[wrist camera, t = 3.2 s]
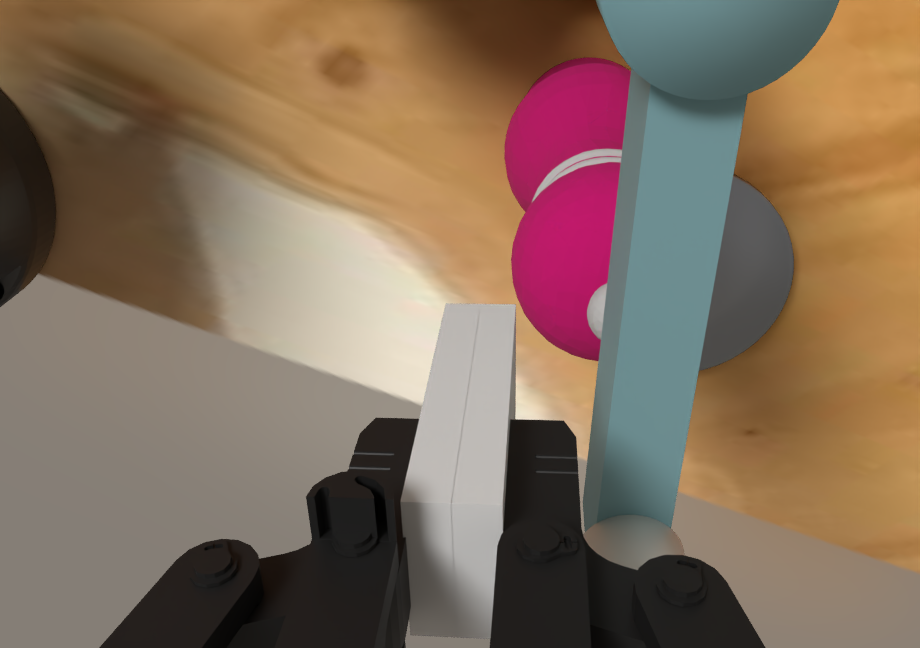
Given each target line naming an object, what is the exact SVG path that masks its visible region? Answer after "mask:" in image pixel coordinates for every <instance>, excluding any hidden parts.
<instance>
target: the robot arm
mask: <svg viewBox="0 0 920 648" xmlns="http://www.w3.org/2000/svg"><path fill="white" fill-rule="evenodd" d="M55 220H56V209H55V197H54V191H53V186H52V182H51V178H50V174H49V171H48V168H47V165H46V162H45V159H44V157H43V154H42V152H41V150H40V148H39V146H38V144H37V142H36V140H35V138H34V136H33V134H32V133H31V131H30V129H29V128H28V126H27V124H26V123H25V121H24V120H23V118H22V117H21V116H20V114H19V113H18V111H17V110H16V109H15V108H14V106H13V105H12V104H11V103H10V101H9V100H8V99H7V98H6V97H5V96H4V95H3V93H2V92H1V91H0V307H1V306H2V305H3V304H5V303H6V302H7V301H9V300H10V299H11V298H12V297H14V296H15V295H16V294H18V293H19V292H20V291H21V290H22V289H24V288H25V287H26V286H27V285H28V284H29V283H30V282H31V281H32V280H33V279H34V278H35V277H36V275H37V274H38V272H39V271H40V270H41V268H42V266H43V264H44V263H45V261H46V258H47V256H48V254H49V251H50V248H51V245H52V241H53V237H54V231H55ZM515 388H516V304H446V305H445V309H444V314H443V318H442V322H441V327H440V331H439V335H438V340H437V344H436V349H435V353H434V357H433V362H432V366H431V370H430V375H429V379H428V383H427V388H426V392H425V396H424V401H423V405H422V410H421V414H420V418H419V419H404V418H403V419H402V418H375V419H374V420H373V421H372V422H371V423H370V424H369V425H368V426H367V427H366V428H365V429H364V430H363V431H362V432H361V433H360V435H359V438H358V441H357V444H356V447H355V450H354V455H353V456H352V459H351V462H350V466H349V470H348V471H347V472H340V473H337V474H335V475H332V476H329V477H326V478H324V479H323V480H321V481H320V482H319V483H317V484H316V485H314V486H313V487H312V489H311V490H310V492H309V493H308V495H307V496H306V499H307V506H308V513H309V520H310V527H311V533H312V541H311V544H310V545H307V546H305V547H303V548H301V549H299V550H296V551H292V552H289V553H285V554H281V555H276V556H271V557H266V558H261V559H259V557H258V554H257V553H256V552H255V550H254V549H253V548H252V547H251V546H250V545H248V544H246V543H243V542H241V541H239V540H229V539H219V540H214V541H210V542H205V543H202V544H200V545H198V546H196V547H194V548H192V549H189V550H188V551H187V552H186V553H184V554H183V555H182V556H181V557H180V558H178V559H177V560H176V561H175V562H174V564H173V565H172V566H171V567H170V568H169V569H168V570H167V571H166V573H165V574H164V575H163V576H162V577H161V578H160V579H159V581H158V582H157V583H156V584H155V585H154V586H153V587H152V589H151V590H150V591H149V592H148V593H147V594H146V595H145V596H144V598H143V599H142V600H141V601H140V602H139V603H138V604H137V606H136V607H135V608H134V609H133V610H132V611H131V613H130V614H129V615H128V616H127V617H126V618H125V619H124V620H123V622H122V623H121V624H120V625H119V626H118V627H117V628H116V629H115V631H114V632H113V633H112V634H111V635H110V636H109V637H108V639H107V640H106V641H105V642H104V643H103V644H102V645H101V647H100V648H406V647H405V637H406V631H407V626H408V620H409V622H410V634H411V635H418V636H440V637H460V638H480V639H490V648H765V646H764V645H763V643H762V641H761V639H760V638H759V636H758V634H757V633H756V631H755V629H754V628H753V626H752V624H751V623H750V621H749V619H748V617H747V616H746V614H745V612H744V611H743V609H742V607H741V605H740V604H739V602H738V600H737V599H736V597H735V595H734V594H733V592H732V590H731V589H730V587H729V585H728V583H727V582H726V580H724V578H723V577H722V576H721V575H720V574H719V573H718V571H717V570H716V569H715V568H713V567H711V566H709V565H708V564H706V563H705V562H703V561H701V560H699V559H695V558H692V557H688V556H684V555H662V556H659V557H655V558H652V559H649V560H648V561H647V562H645V563H644V564H643V565H642V566H640V567H639V568H638V570H635V569H632V568H628V567H625V566H621V565H619V564H616V563H614V562H611V561H608V560H607V559H605V558H603V557H602V556H600V555H599V554H597V553H596V552H595V551H594V550H593V549H592V548H591V547H590V546H589V545H588V543H587V542H586V540H585V539H584V537H583V533H582V529H581V514H580V496H579V479H578V461H577V444H576V437H575V435H574V434H573V432H572V431H571V430H570V428H569V427H568V426H567V424H566V423H565V422H564V421H553V420H515Z"/></svg>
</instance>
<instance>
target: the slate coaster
mask: <svg viewBox="0 0 920 648" xmlns="http://www.w3.org/2000/svg"><path fill="white" fill-rule="evenodd" d="M793 271H794V256H793V250H792V243H791V240H790V237H789V234H788V231H787V229H786V227H785V225H784V223H783V221H782V219H781V217H780V216H779V214H778V213H777V211H776V210H775V208H774V207H773V206H772V204H771V203H770V201H769V200H768V199H767V198H766V197H765V196H764V195H763V194H762V193H761V192H760V191H759V190H758V189H756V188H755V187H754V186H752V185H751V184H750V183H748V182H747V181H745V180H743V179H741V178H740V177H738V176H736V175H734V174H733V179H732V185H731V191H730V196H729V202H728V208H727V213H726V219H725V225H724V230H723V236H722V242H721V247H720V253H719V259H718V264H717V270H716V276H715V281H714V287H713V293H712V298H711V304H710V310H709V315H708V321H707V327H706V332H705V338H704V344H703V349H702V355H701V361H700V366H699V371H700V370H704V369H707V368H710V367H713V366H716V365H719V364H721V363H724V362H726V361H728V360H730V359H732V358H734V357H735V356H737V355H739V354H740V353H742V352H744V351H745V350H746V349H748V348H749V347H750V346H752V345H753V344H754V343H756V342H757V341H758V340H759V339H760V338H761V337H762V336H763V335H764V334H765V333H766V332H767V330H768V329H769V328H770V327H771V325H772V324H773V323H774V322H775V320H776V319H777V317H778V315H779V314H780V312H781V311H782V309H783V306H784V304H785V302H786V300H787V298H788V294H789V291H790V288H791V284H792V278H793Z"/></svg>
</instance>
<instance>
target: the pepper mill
mask: <svg viewBox="0 0 920 648" xmlns="http://www.w3.org/2000/svg"><path fill="white" fill-rule="evenodd" d="M630 76H631V71H629V70H628V69H626V68H625V67H623V66H621V65H619V64H617V63H615V62H613V61H609V60H606V59H601V58H578V59H573V60H569V61H566V62H564V63H561V64H559V65H557V66H555V67H553V68H551V69H550V70H549V71H547V72H546V73H544V74H543V75H542V76H541V77H540V78H539V79H538V80H537V81H536V82H535V83H534V85H533V86H532V87H531V89H530V90H529V92H528V93H527V95H526V96H525V97H524V99H523V100H522V101H521V103H520V104H519V105H518V107H517V109H516V111H515V113H514V114H513V116H512V118H511V121H510V124H509V127H508V130H507V134H506V140H505V164H506V170H507V177H508V180H509V183H510V186H511V190H512V192H513V194H514V196H515V197H516V199H517V201H518V203H519V204H520V206H521V207H522V208H523V209H524V211H525V214H524V216H523V218H522V220H521V222H520V224H519V227H518V230H517V233H516V236H515V239H514V242H513V248H512V257H511V263H512V276H513V284H514V288H515V291H516V295H517V298H518V300H519V303H520V305H521V307H522V309H523V311H524V313H525V315H526V317H527V318H528V319H529V321H530V322H531V323H532V325H533V326H534V327H535V328H536V329H537V330H538V331H539V332H540V333H541V334H542V335H543V336H544V337H545V338H546V339H547V340H548V341H549V342H551V343H552V344H553V345H555V346H556V347H558V348H560V349H562V350H564V351H566V352H568V353H570V354H571V355H575V356H578V357H581V358H584V359H589V360H595V361H599V353H600V344H601V335H602V326H603V317H604V308H605V299H606V290H607V281H608V273H609V264H610V255H611V246H612V237H613V228H614V219H615V210H616V201H617V192H618V183H619V174H620V165H621V156H622V147H623V138H624V129H625V120H626V111H627V103H628V94H629V85H630Z"/></svg>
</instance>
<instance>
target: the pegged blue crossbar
mask: <svg viewBox="0 0 920 648" xmlns="http://www.w3.org/2000/svg"><path fill="white" fill-rule="evenodd" d="M596 3H597V6H598V8H599V11H600V13H601V15H602V18H603V20H604V22H605V24H606V27H607V29H608V31H609V34H610V36H611V38H612V40H613V42H614V44H615V46H616V48H617V50H618V51H619V53H620V54H621V56H622V57H623V58H624V60H625V61H626V62H627V64H628V65H629V66H630V67H631V76H630V85H629V94H628V103H627V111H626V120H625V129H624V138H623V147H622V156H621V165H620V174H619V183H618V192H617V201H616V210H615V219H614V228H613V237H612V246H611V255H610V264H609V273H608V281H607V290H606V299H605V308H604V317H603V326H602V335H601V344H600V353H599V362H598V371H597V380H596V389H595V398H594V407H593V416H592V425H591V434H590V443H589V451H588V460H587V469H586V478H585V487H584V497H583V512H584V526H585V533H584V534H583V537H584V539H585V540H586V542H587V543H588V545H589V546H590V547H591V548H592V549H593V550H594V551H595V552H596V553H597V554H599V555H600V556H602V557H603V558H605V559H607V560H608V561H611V562H614V563H616V564H619V565H621V566H625V567H628V568H632V569H635V570H638V568H639V567H640V566H642V565H643V564H644V563H645V562H647V561H648V560H649V559H652V558H655V557H659V556H662V555H684V556H685V554H684V549H683V545H682V543H681V541H680V539H679V537H678V536H677V535H676V533H675V532H674V531H673V530H672V529H671V524H672V519H673V513H674V508H675V502H676V496H677V491H678V485H679V479H680V474H681V468H682V462H683V457H684V451H685V445H686V440H687V434H688V429H689V423H690V417H691V412H692V406H693V400H694V395H695V389H696V383H697V378H698V372H699V366H700V361H701V355H702V349H703V344H704V338H705V332H706V327H707V321H708V315H709V310H710V304H711V298H712V293H713V287H714V281H715V276H716V270H717V264H718V259H719V253H720V247H721V242H722V236H723V230H724V225H725V219H726V213H727V208H728V202H729V196H730V191H731V185H732V179H733V174H734V168H735V162H736V157H737V151H738V145H739V140H740V134H741V128H742V123H743V117H744V111H745V106H746V100H747V94H748V93H750V92H753V91H755V90H758V89H760V88H763V87H765V86H766V85H768V84H770V83H772V82H773V81H775V80H777V79H779V78H780V77H781V76H783V75H784V74H786V73H787V72H788V71H790V70H791V69H792V68H793V67H794V66H795V65H797V64H798V63H799V62H800V61H801V60H802V59H803V58H804V57H805V56H806V55H807V54H808V53H809V51H810V50H811V49H812V48H813V47H814V46H815V44H816V43H817V42H818V40H819V39H820V37H821V36H822V34H823V33H824V32H825V30H826V28H827V26H828V24H829V23H830V21H831V19H832V17H833V15H834V12H835V10H836V7H837V5H838V3H839V0H596Z"/></svg>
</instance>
